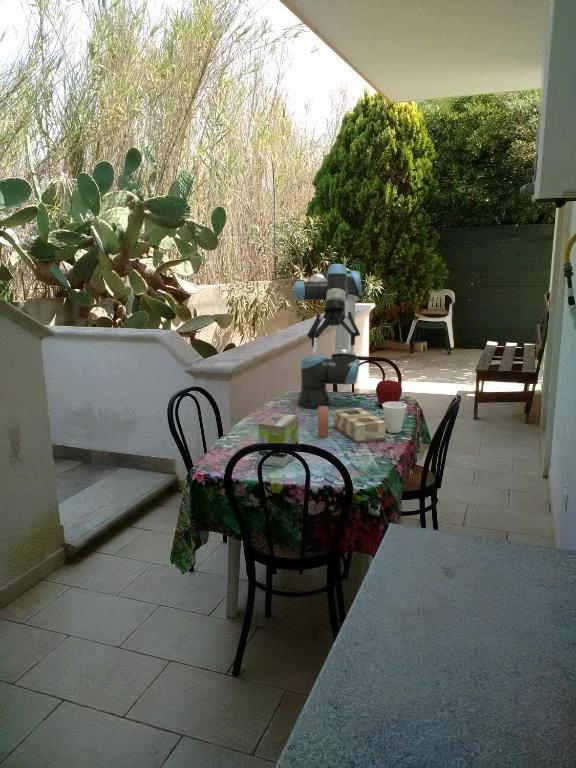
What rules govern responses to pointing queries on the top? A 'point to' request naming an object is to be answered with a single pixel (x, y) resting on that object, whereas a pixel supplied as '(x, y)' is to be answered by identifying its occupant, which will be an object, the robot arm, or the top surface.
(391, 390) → the apple
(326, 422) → the peg
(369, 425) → the hole block
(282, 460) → the tea box
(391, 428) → the cup
